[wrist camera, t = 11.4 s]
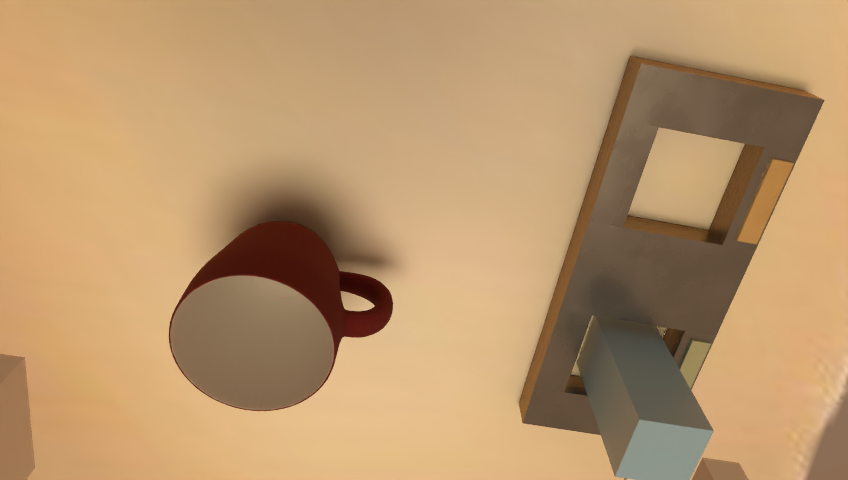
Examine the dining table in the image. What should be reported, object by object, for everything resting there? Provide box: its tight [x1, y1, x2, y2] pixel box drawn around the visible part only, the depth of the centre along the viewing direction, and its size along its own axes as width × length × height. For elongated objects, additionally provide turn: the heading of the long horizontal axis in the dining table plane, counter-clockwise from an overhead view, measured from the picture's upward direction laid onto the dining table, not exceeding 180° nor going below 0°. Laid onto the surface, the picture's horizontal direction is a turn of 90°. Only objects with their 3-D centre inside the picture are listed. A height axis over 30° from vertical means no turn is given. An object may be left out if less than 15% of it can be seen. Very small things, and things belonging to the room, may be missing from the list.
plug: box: [577, 316, 713, 480], centre depth 40 cm, size 5×4×10 cm
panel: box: [519, 56, 824, 435], centre depth 40 cm, size 24×10×2 cm, turn 169°
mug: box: [169, 221, 393, 411], centre depth 37 cm, size 10×8×10 cm
